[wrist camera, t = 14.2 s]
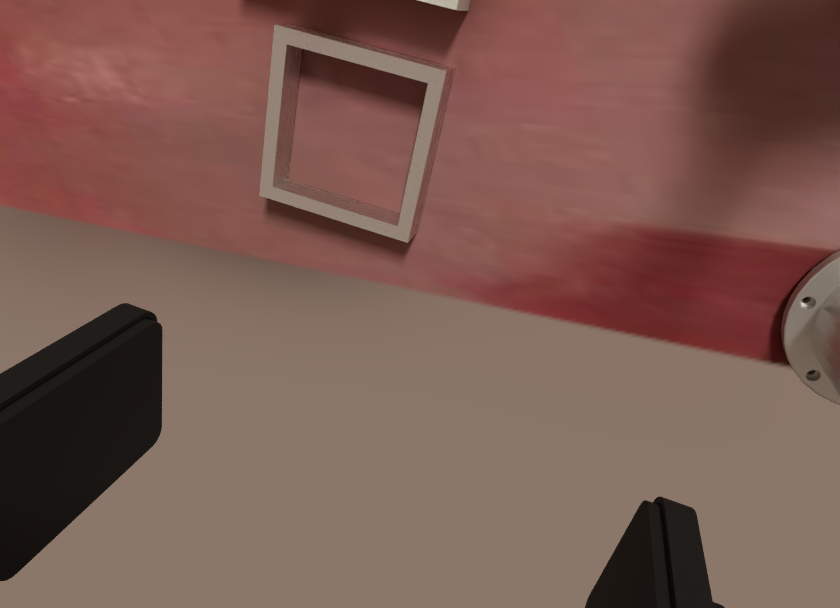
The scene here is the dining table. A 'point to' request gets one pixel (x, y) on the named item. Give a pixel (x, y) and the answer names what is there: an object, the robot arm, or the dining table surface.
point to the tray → (451, 4)
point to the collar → (282, 120)
